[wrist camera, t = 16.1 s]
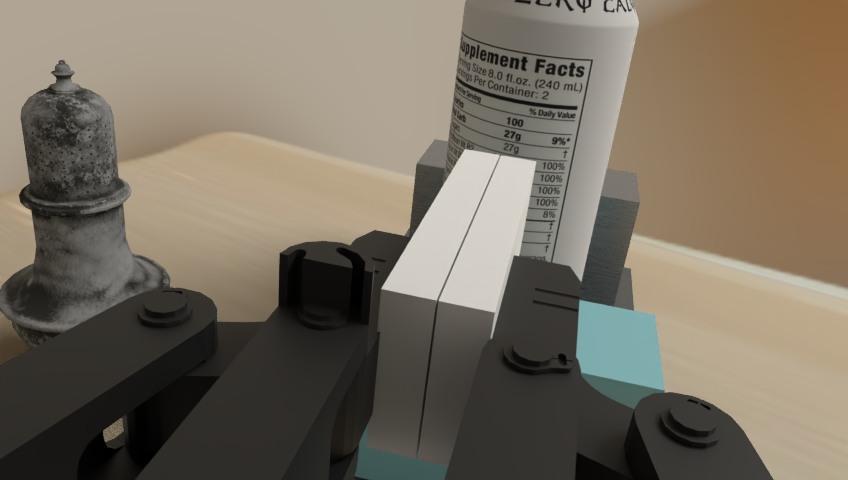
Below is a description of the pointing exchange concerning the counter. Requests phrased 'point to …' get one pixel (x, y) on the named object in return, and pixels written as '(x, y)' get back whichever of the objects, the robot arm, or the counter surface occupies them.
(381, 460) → the sliding jaw
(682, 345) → the counter surface
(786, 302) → the counter surface
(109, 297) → the salt shaker
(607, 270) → the grey base stand
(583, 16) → the energy drink can
